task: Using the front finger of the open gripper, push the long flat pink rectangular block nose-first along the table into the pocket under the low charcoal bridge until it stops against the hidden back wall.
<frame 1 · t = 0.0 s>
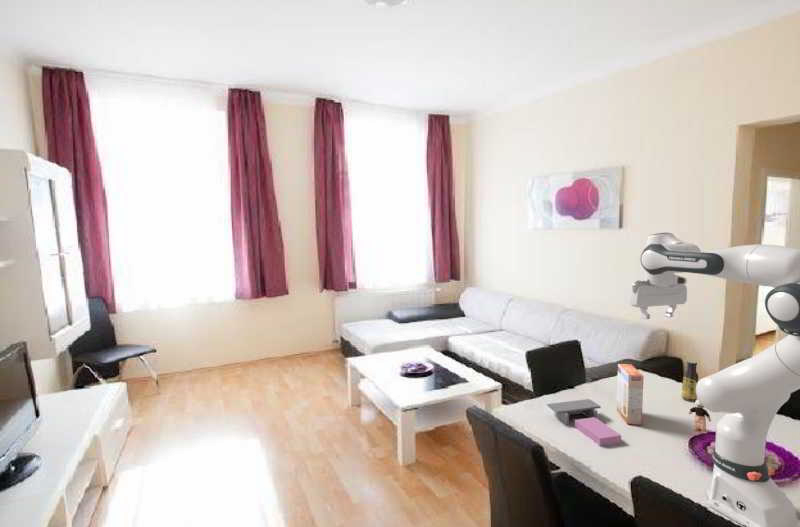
hand: (657, 317, 147), 48 cm above the table, tool pointing down, fingers open, 8 cm apart
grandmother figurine: (699, 430, 163), on the table
bridge dock: (576, 419, 175), on the table
pink rectangular block: (596, 435, 162), on the table
sauce bottle: (689, 400, 190), on the table
cracker box: (629, 417, 175), on the table
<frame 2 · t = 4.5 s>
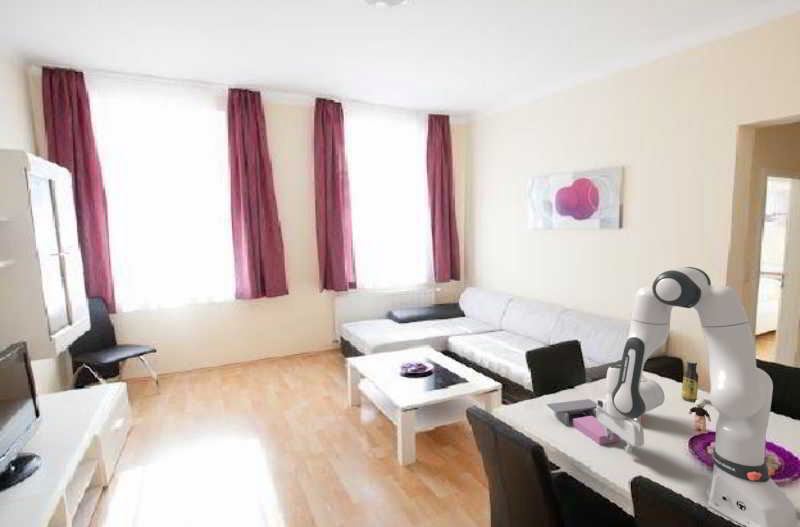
hand: (618, 445, 150), 2 cm above the table, tool pointing down, fingers open, 8 cm apart
pink rectangular block: (595, 434, 163), on the table, touching gripper
everything else where it was.
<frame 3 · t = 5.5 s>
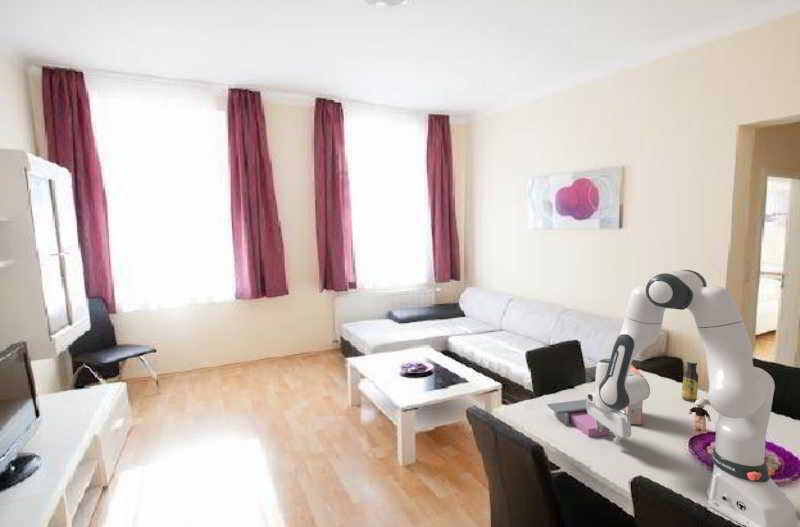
hand: (607, 437, 155), 2 cm above the table, tool pointing down, fingers open, 8 cm apart
pink rectangular block: (586, 427, 168), on the table, touching gripper
everything else where it was.
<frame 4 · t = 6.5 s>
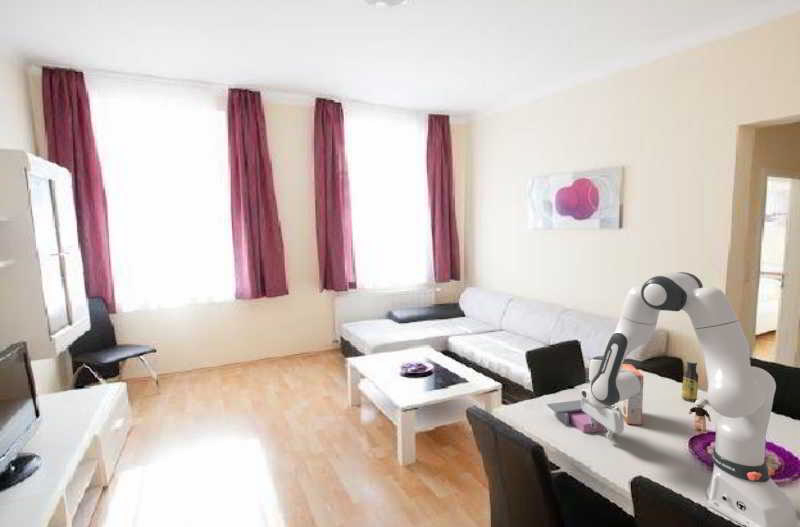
hand: (601, 432, 159), 2 cm above the table, tool pointing down, fingers open, 7 cm apart
pink rectangular block: (582, 422, 171), on the table, touching bridge dock, gripper
everything else where it was.
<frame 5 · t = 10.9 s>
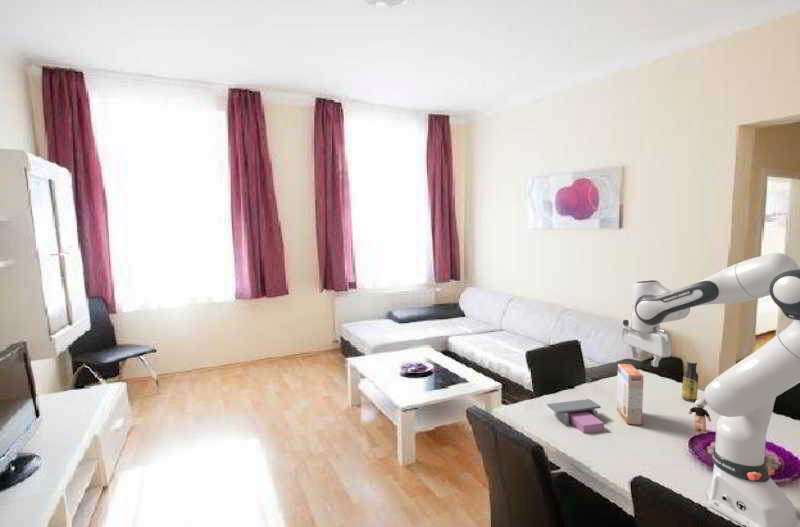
hand: (644, 361, 152), 31 cm above the table, tool pointing down, fingers open, 8 cm apart
pink rectangular block: (581, 423, 171), on the table
everything else where it was.
at the end: pink rectangular block 0.3 cm from the target spot, on the table; pink rectangular block tilted 0°; the gripper is holding nothing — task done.
